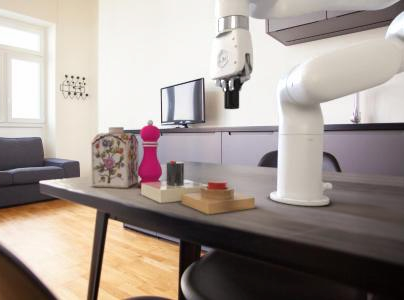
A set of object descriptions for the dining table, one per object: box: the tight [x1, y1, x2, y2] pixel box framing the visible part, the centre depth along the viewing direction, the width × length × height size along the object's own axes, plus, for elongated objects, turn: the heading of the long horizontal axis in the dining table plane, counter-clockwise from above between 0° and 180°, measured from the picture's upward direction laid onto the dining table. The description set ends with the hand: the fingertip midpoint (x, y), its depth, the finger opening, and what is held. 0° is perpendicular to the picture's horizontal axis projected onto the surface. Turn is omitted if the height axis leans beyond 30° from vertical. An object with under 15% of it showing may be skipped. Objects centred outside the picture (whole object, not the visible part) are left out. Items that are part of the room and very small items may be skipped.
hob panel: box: [140, 179, 207, 204], centre depth 74 cm, size 14×11×3 cm
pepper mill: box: [138, 119, 163, 188], centre depth 87 cm, size 7×7×20 cm
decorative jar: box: [90, 126, 140, 189], centre depth 91 cm, size 12×12×18 cm
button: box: [207, 179, 228, 190], centre depth 64 cm, size 4×4×2 cm
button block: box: [181, 184, 255, 215], centre depth 64 cm, size 12×10×4 cm
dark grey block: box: [166, 160, 185, 186], centre depth 74 cm, size 4×4×6 cm
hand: (231, 108), depth 69 cm, fingers closed
